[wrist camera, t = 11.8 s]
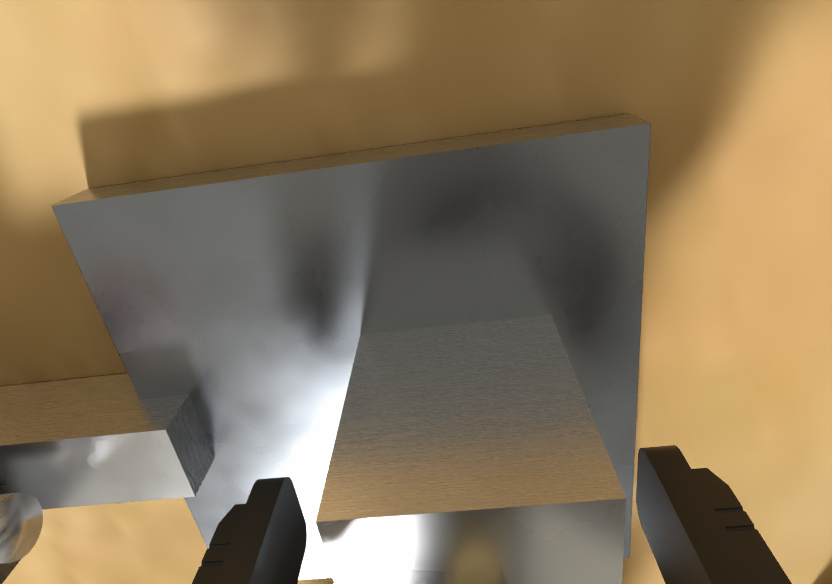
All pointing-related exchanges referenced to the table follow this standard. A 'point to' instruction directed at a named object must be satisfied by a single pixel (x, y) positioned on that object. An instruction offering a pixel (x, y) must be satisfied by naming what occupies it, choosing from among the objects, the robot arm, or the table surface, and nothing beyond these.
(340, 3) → the table surface
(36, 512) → the lever
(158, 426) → the press
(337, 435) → the block
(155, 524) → the table surface
